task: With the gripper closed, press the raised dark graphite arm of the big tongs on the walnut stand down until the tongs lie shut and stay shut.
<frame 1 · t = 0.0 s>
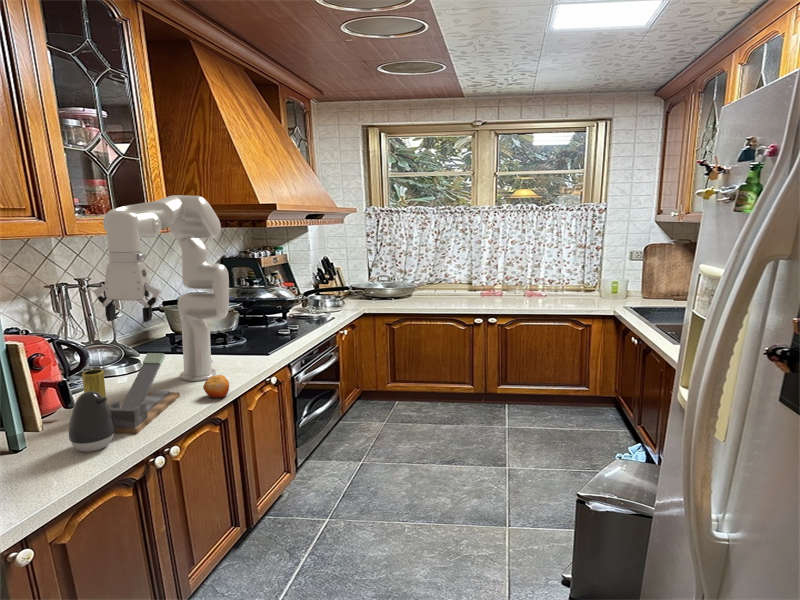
hand: (129, 320, 133), 31 cm above the worktop, tool pointing down, fingers open, 9 cm apart
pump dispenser: (94, 448, 127), on the worktop
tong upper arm: (142, 383, 147), point 9 cm above the worktop, hinge at 32.0°
vase: (97, 418, 144), on the worktop
fruit: (217, 397, 164), on the worktop
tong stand: (143, 413, 149), on the worktop
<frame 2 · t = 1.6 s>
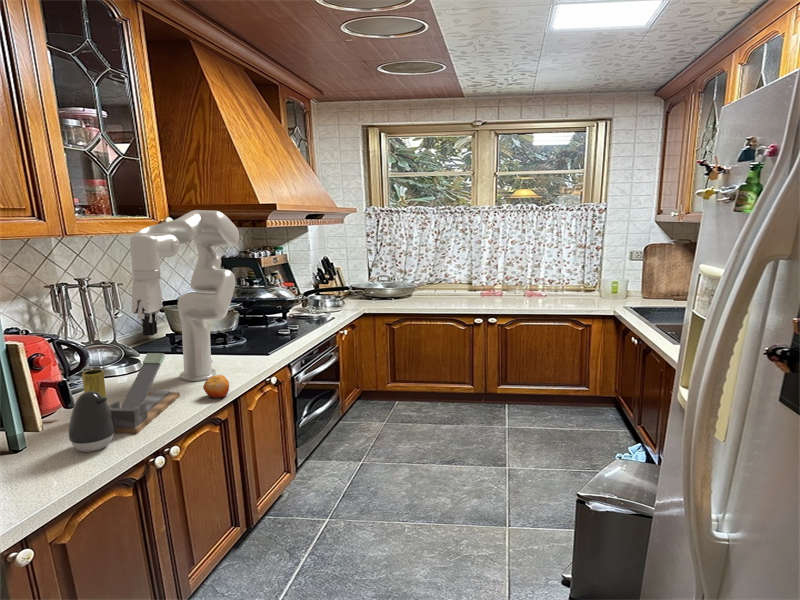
hand: (150, 334, 151), 23 cm above the worktop, tool pointing down, fingers closed
nothing on the worktop moved.
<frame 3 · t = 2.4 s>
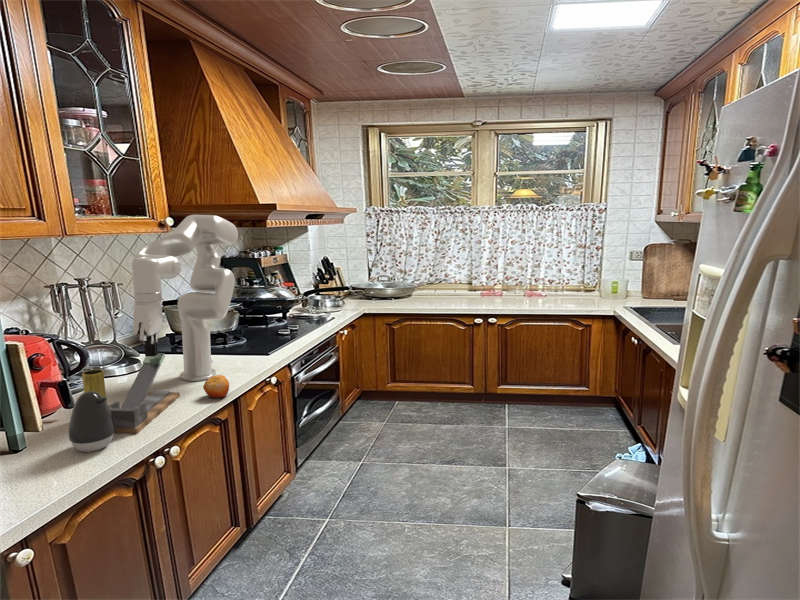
hand: (151, 355, 153), 16 cm above the worktop, tool pointing down, fingers closed
nothing on the worktop moved.
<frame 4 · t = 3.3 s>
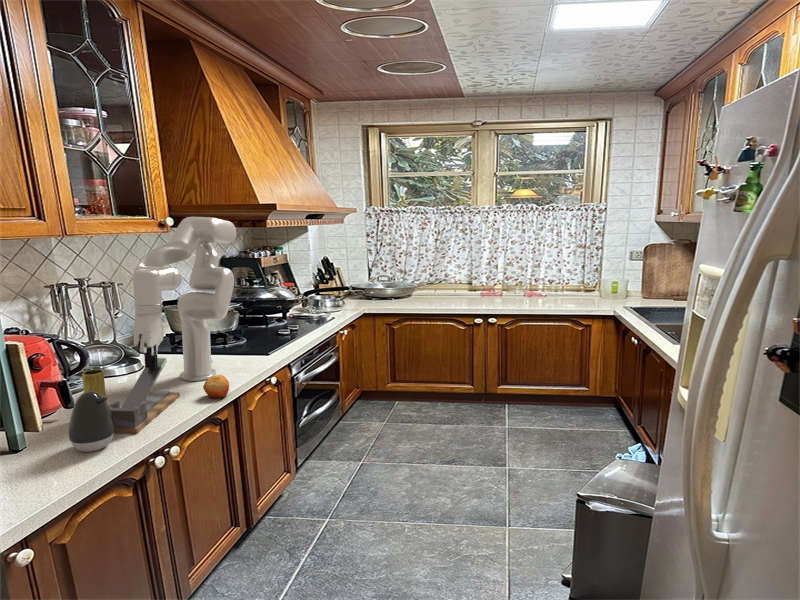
hand: (151, 366, 153), 13 cm above the worktop, tool pointing down, fingers closed
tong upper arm: (143, 386, 148), point 8 cm above the worktop, hinge at 26.2°
everything else where it was.
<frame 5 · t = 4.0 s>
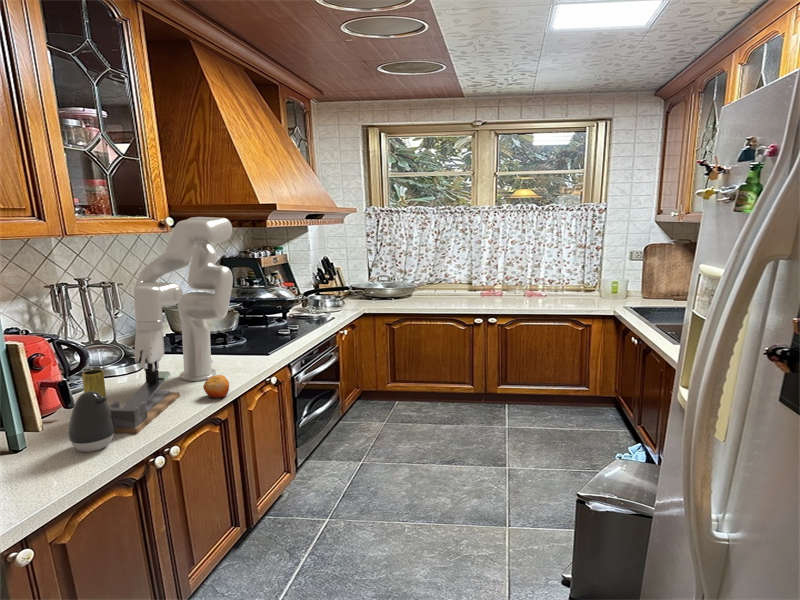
hand: (152, 382, 154), 8 cm above the worktop, tool pointing down, fingers closed
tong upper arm: (145, 393, 149), point 6 cm above the worktop, hinge at 12.0°, touching gripper
everything else where it was.
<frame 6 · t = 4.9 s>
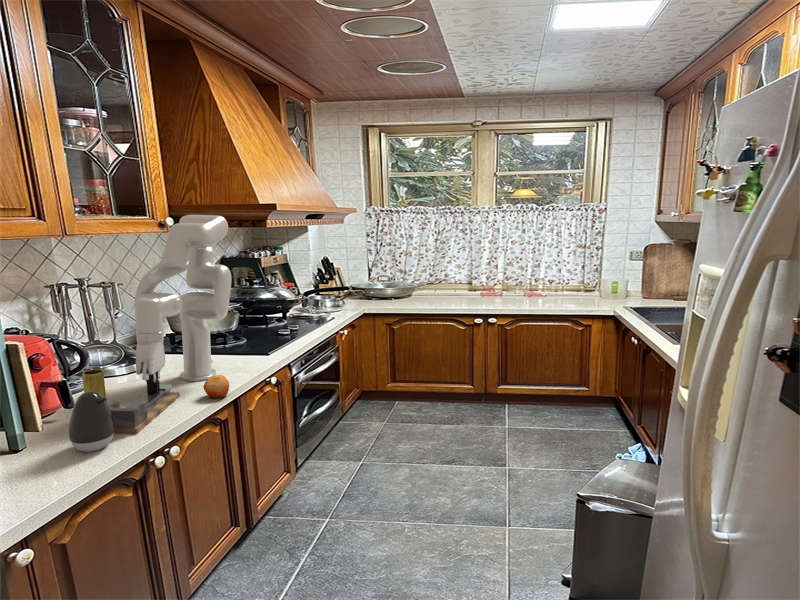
hand: (153, 392, 155), 4 cm above the worktop, tool pointing down, fingers closed
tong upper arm: (146, 399, 150), point 4 cm above the worktop, hinge at 0.0°, touching gripper
everything else where it was.
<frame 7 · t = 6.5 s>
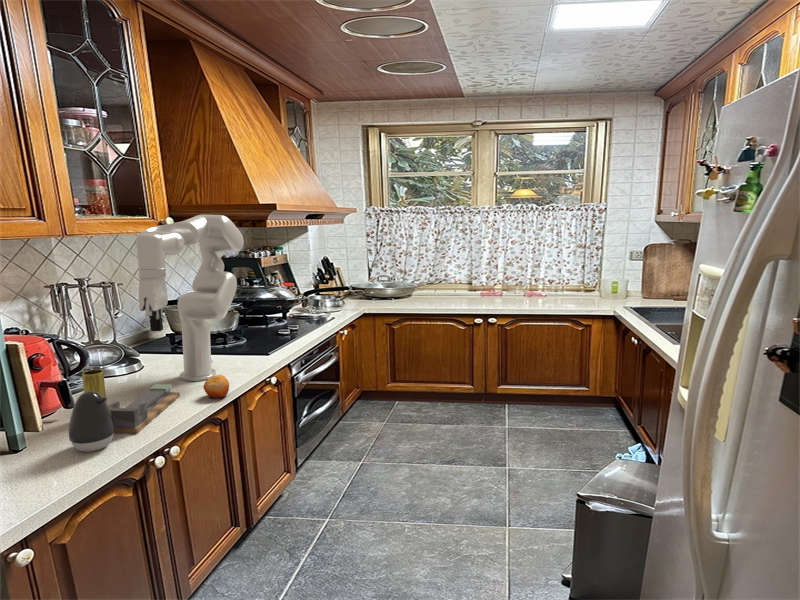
hand: (156, 330, 156), 23 cm above the worktop, tool pointing down, fingers closed
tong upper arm: (146, 399, 150), point 4 cm above the worktop, hinge at 0.0°
everything else where it was.
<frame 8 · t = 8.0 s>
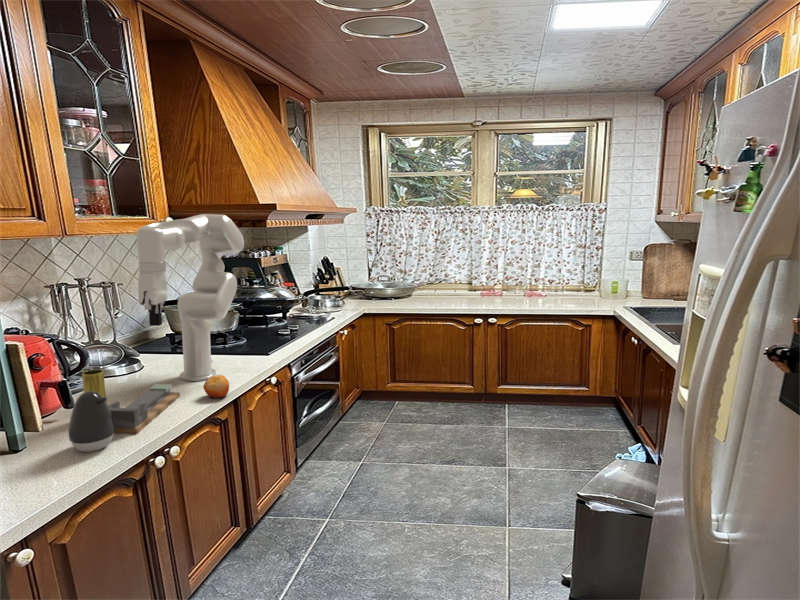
hand: (156, 324, 155), 25 cm above the worktop, tool pointing down, fingers closed
nothing on the worktop moved.
at the end: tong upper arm at +0° (first picture: +32°); vase moved 0.2 cm from its start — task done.
